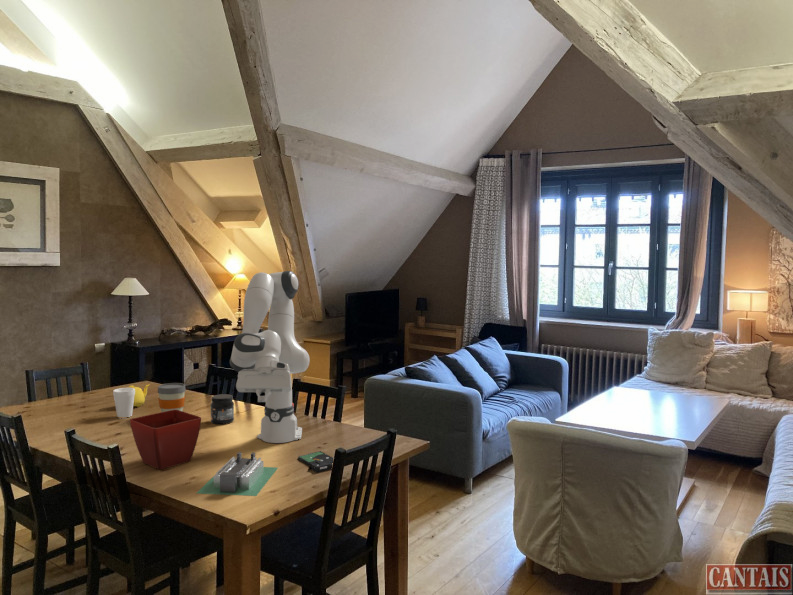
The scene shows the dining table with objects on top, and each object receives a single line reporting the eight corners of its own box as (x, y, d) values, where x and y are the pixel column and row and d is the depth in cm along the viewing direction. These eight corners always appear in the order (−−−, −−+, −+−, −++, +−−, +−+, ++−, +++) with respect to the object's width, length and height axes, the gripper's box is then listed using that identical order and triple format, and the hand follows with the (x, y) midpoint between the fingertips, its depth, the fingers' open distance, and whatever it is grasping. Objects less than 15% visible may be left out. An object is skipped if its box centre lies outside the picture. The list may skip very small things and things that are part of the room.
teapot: (146, 401, 320) (145, 381, 319) (155, 405, 312) (154, 384, 311) (110, 407, 307) (110, 386, 306) (118, 411, 299) (118, 390, 298)
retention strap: (242, 463, 216) (242, 457, 216) (250, 463, 216) (250, 458, 216) (225, 481, 200) (225, 474, 200) (234, 481, 200) (234, 475, 199)
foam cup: (128, 413, 297) (128, 386, 296) (139, 416, 291) (138, 389, 290) (109, 417, 289) (109, 390, 288) (120, 420, 284) (119, 393, 283)
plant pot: (129, 462, 227) (128, 418, 226) (176, 450, 242) (175, 408, 241) (155, 475, 215) (154, 428, 214) (203, 461, 230) (202, 417, 229)
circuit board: (224, 468, 223) (224, 465, 223) (278, 470, 221) (278, 467, 221) (195, 496, 197) (195, 493, 197) (256, 498, 195) (256, 495, 195)
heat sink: (230, 470, 217) (230, 451, 217) (263, 472, 216) (263, 452, 216) (209, 492, 198) (209, 471, 197) (245, 493, 197) (245, 472, 197)
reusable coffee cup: (152, 417, 289) (151, 386, 288) (174, 411, 300) (174, 381, 299) (169, 421, 283) (169, 389, 282) (191, 415, 293) (191, 384, 292)
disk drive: (341, 468, 225) (320, 457, 237) (341, 461, 225) (320, 450, 237) (316, 474, 219) (296, 462, 231) (316, 467, 219) (296, 455, 230)
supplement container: (213, 418, 288) (213, 393, 287) (236, 418, 289) (236, 393, 288) (207, 425, 278) (207, 399, 277) (231, 425, 278) (230, 399, 277)
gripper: (237, 364, 228) (231, 396, 219) (292, 364, 228) (288, 396, 219) (240, 373, 232) (234, 405, 224) (294, 373, 233) (290, 405, 224)
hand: (261, 401), depth 222 cm, fingers closed
